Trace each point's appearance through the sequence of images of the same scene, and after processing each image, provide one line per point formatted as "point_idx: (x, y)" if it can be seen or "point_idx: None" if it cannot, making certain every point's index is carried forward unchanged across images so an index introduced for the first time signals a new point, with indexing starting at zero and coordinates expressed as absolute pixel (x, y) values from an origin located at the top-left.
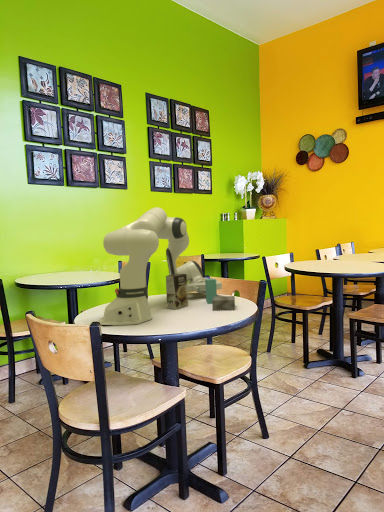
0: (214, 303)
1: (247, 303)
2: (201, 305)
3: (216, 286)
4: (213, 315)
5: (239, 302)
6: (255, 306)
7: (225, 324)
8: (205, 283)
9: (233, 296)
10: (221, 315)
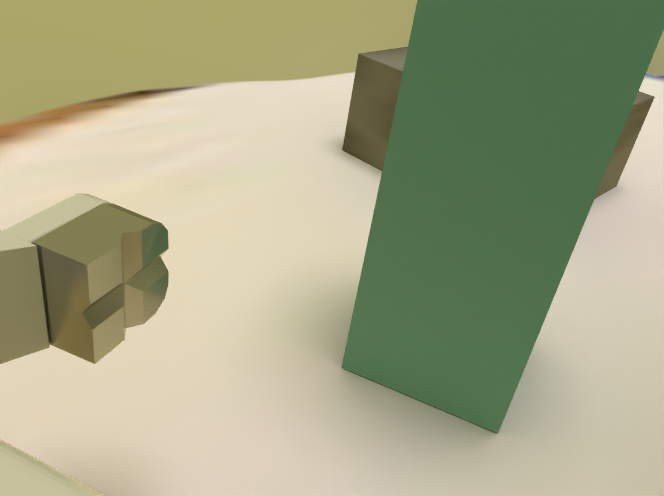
0: None
1: (187, 123)
2: (656, 357)
3: (92, 200)
4: (660, 142)
5: (182, 167)
6: (257, 81)
7: (656, 81)
8: (651, 54)
9: (381, 54)
10: None
